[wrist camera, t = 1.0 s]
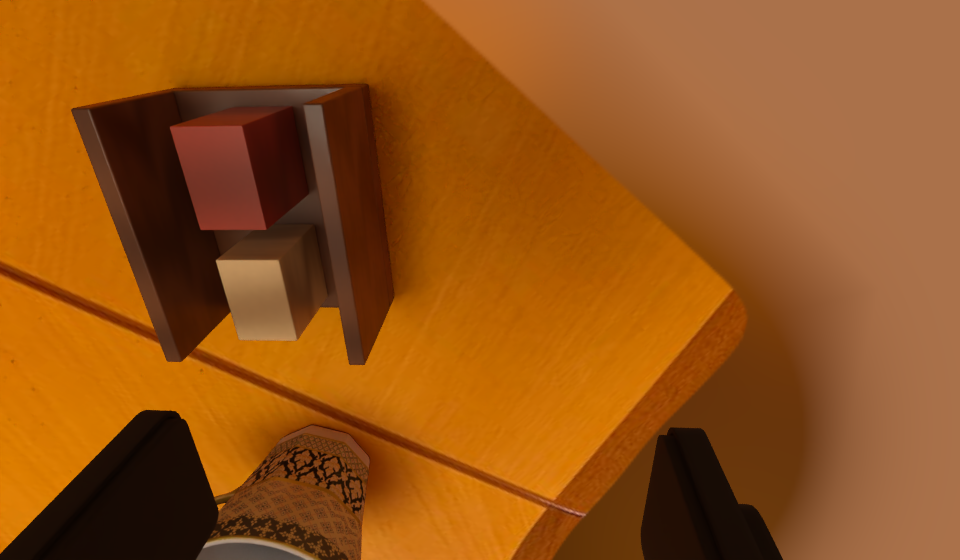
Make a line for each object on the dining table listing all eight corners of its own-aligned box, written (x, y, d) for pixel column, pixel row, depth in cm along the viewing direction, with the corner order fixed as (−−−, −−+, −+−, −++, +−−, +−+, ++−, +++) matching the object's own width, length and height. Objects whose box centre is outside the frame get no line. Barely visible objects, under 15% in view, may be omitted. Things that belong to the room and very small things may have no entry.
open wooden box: (172, 87, 25) (69, 108, 19) (368, 83, 25) (322, 103, 19) (233, 297, 31) (166, 362, 25) (394, 298, 30) (364, 365, 24)
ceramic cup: (405, 426, 35) (366, 565, 26) (380, 518, 39) (340, 664, 30) (216, 379, 34) (110, 506, 25) (214, 479, 38) (123, 617, 30)
